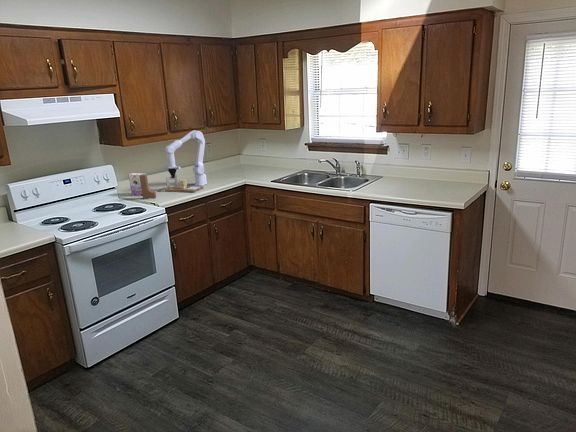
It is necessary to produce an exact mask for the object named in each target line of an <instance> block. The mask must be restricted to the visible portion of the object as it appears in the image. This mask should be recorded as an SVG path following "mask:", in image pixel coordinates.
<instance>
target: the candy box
mask: <svg viewBox="0 0 576 432" xmlns="http://www.w3.org/2000/svg"><path fill="white" fill-rule="evenodd" d="M142 174H144V173H142V172H141V173H140V172H139V173H138V172H132V173H128V179H129V185H130V190H131V195H132V194H133V195H134V196H135V195H136V196H143V195H142V189H141V183H140V177H139V176H140V175H142Z"/></svg>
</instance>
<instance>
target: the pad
mask: <svg viewBox="0 0 576 432" xmlns="http://www.w3.org/2000/svg"><path fill="white" fill-rule="evenodd" d="M198 188H200V187H190V188H188V189H186V190H196V189H198Z"/></svg>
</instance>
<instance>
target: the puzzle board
mask: <svg viewBox="0 0 576 432" xmlns="http://www.w3.org/2000/svg"><path fill="white" fill-rule="evenodd" d="M190 187H200V188H198V189H196V190H186V189H188V188H190ZM186 189H180V185H178V186H175V185H173V186H170V189H167V188H166V189H164V192H168V193H189V194H190V193H191V194H195V193H197V192H199V191H201V190H203V189H204V186H194V185H187V188H186Z"/></svg>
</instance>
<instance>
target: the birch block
mask: <svg viewBox="0 0 576 432" xmlns="http://www.w3.org/2000/svg"><path fill="white" fill-rule="evenodd" d="M178 186H180V189H186V188H187V186H188V183H187V179H183V178H182V179H180V180H179V181H178Z"/></svg>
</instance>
